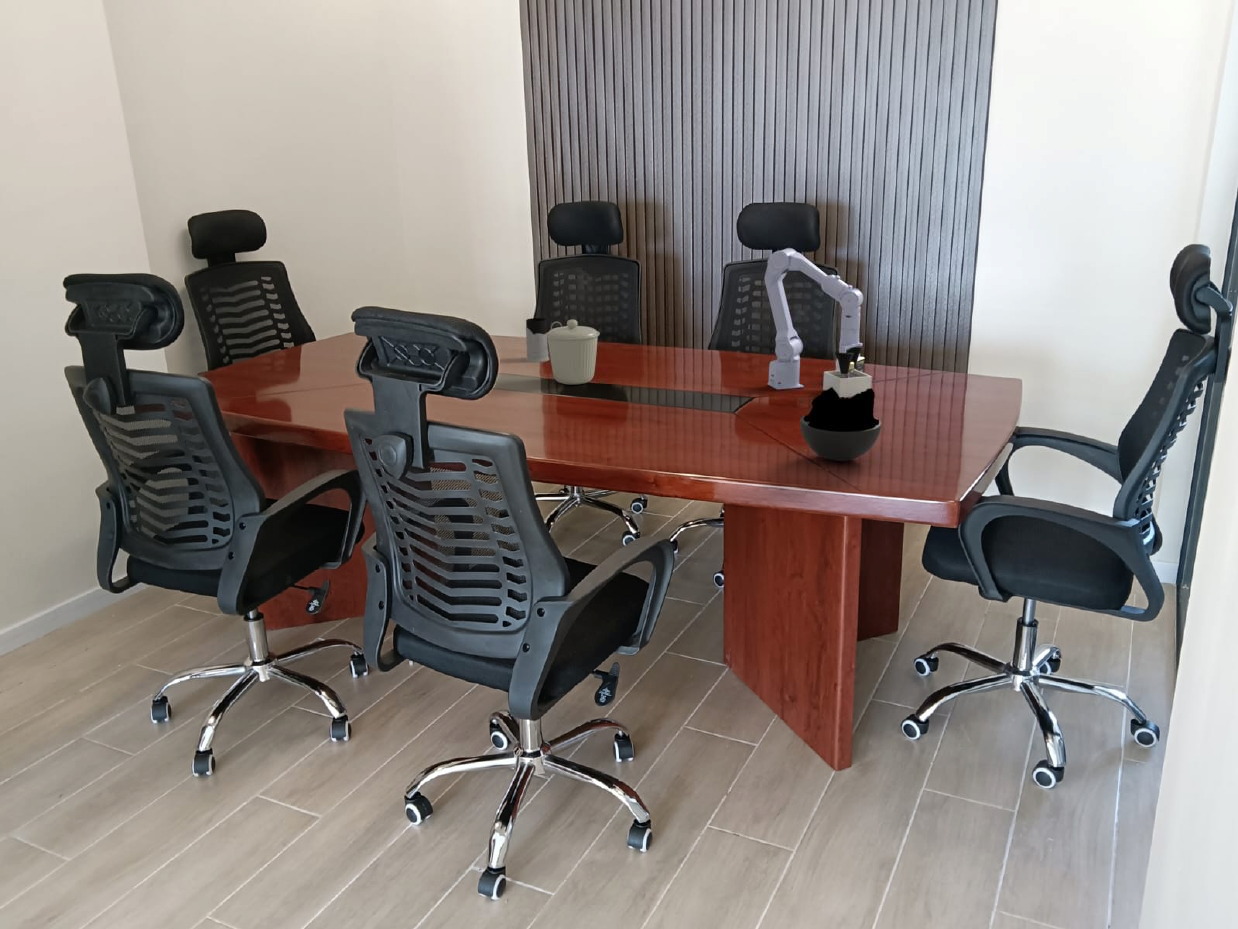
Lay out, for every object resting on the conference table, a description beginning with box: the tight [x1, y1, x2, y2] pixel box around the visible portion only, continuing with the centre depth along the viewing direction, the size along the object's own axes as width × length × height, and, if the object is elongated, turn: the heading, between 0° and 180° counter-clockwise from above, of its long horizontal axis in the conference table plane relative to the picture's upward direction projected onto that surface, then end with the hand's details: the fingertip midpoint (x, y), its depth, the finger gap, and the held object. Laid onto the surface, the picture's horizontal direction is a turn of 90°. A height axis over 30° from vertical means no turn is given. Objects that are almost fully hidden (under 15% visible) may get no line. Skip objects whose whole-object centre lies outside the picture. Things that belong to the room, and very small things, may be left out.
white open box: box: [822, 369, 873, 398], centre depth 320 cm, size 11×11×6 cm
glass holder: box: [525, 317, 563, 363], centre depth 374 cm, size 9×14×15 cm, turn 107°
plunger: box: [834, 361, 860, 379], centre depth 319 cm, size 9×9×6 cm
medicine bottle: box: [835, 353, 866, 373], centre depth 337 cm, size 7×7×12 cm
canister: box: [545, 319, 601, 385], centre depth 338 cm, size 18×18×21 cm
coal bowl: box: [799, 387, 882, 462], centre depth 252 cm, size 20×20×19 cm
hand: (847, 371), depth 319 cm, fingers open, 7 cm apart
